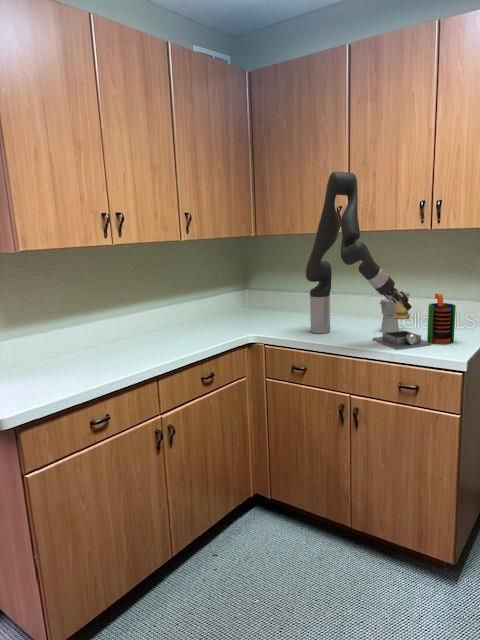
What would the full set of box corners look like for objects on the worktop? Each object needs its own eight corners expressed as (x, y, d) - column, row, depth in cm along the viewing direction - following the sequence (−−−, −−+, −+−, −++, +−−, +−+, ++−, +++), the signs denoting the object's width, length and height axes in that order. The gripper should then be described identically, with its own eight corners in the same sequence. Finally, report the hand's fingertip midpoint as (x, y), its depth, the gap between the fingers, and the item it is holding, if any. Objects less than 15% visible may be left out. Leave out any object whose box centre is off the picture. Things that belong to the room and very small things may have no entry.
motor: (435, 345, 195) (437, 296, 192) (422, 341, 204) (423, 294, 200) (457, 343, 198) (459, 294, 194) (442, 338, 207) (444, 291, 203)
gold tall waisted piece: (390, 317, 203) (390, 293, 201) (403, 315, 205) (404, 291, 203) (399, 319, 197) (399, 294, 195) (413, 318, 199) (413, 293, 197)
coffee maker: (385, 334, 218) (386, 294, 215) (372, 331, 226) (373, 292, 223) (411, 330, 224) (411, 291, 221) (397, 326, 232) (398, 289, 229)
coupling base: (372, 340, 210) (372, 328, 209) (405, 336, 214) (405, 325, 213) (396, 349, 193) (397, 337, 192) (431, 345, 197) (431, 333, 196)
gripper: (396, 275, 189) (422, 303, 194) (376, 272, 202) (401, 298, 208) (384, 289, 188) (410, 317, 194) (365, 286, 202) (390, 311, 207)
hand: (405, 307), depth 201 cm, fingers closed on gold tall waisted piece, 5 cm apart
